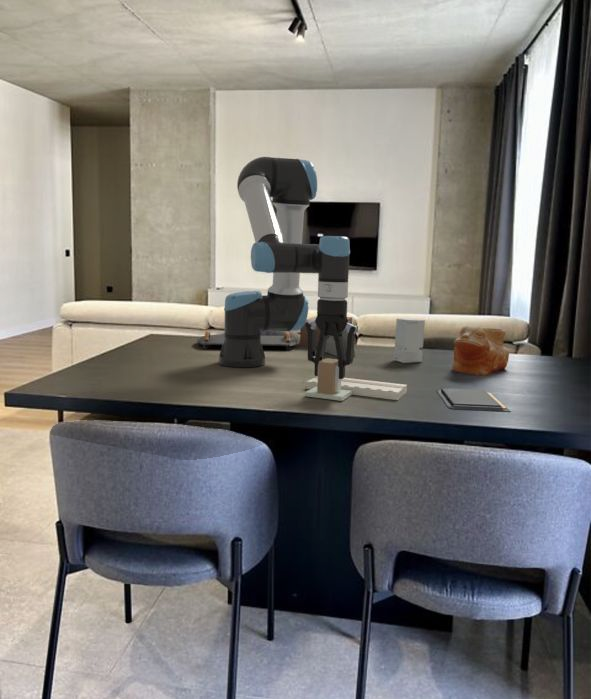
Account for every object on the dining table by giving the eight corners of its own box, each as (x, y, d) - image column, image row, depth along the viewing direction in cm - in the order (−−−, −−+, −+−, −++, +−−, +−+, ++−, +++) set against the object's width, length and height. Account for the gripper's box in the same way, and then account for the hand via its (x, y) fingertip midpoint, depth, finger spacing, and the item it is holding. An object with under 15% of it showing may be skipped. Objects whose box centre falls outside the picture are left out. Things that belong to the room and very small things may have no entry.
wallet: (436, 385, 161) (493, 388, 159) (435, 392, 161) (492, 395, 160) (447, 404, 141) (512, 407, 140) (446, 412, 141) (511, 415, 140)
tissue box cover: (318, 338, 256) (319, 315, 254) (351, 340, 251) (352, 317, 249) (299, 346, 232) (300, 321, 230) (335, 349, 227) (336, 323, 225)
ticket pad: (306, 388, 158) (306, 381, 158) (319, 381, 167) (319, 374, 167) (397, 400, 149) (398, 392, 148) (406, 392, 158) (407, 384, 157)
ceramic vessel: (439, 371, 187) (442, 325, 185) (476, 362, 206) (480, 319, 204) (480, 379, 178) (484, 330, 176) (515, 368, 197) (519, 323, 195)
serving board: (194, 351, 216) (194, 334, 215) (199, 341, 238) (199, 326, 237) (299, 352, 219) (300, 335, 218) (294, 342, 242) (294, 327, 241)
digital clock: (357, 357, 209) (359, 328, 207) (333, 357, 207) (334, 327, 206) (345, 350, 225) (346, 322, 223) (322, 350, 223) (323, 322, 221)
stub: (304, 396, 149) (306, 361, 148) (316, 389, 157) (317, 356, 155) (342, 400, 146) (343, 365, 144) (352, 394, 153) (353, 360, 151)
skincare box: (402, 363, 200) (405, 319, 198) (392, 360, 205) (395, 317, 203) (423, 362, 203) (425, 319, 201) (413, 359, 209) (415, 317, 206)
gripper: (295, 297, 147) (292, 388, 151) (360, 301, 140) (356, 397, 144) (306, 296, 154) (303, 383, 158) (369, 299, 147) (365, 390, 151)
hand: (329, 389), depth 151 cm, fingers closed on stub, 4 cm apart
